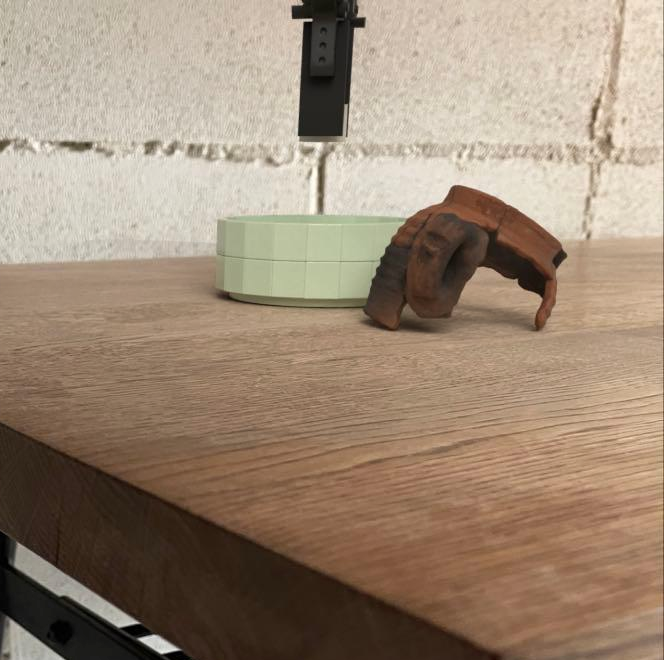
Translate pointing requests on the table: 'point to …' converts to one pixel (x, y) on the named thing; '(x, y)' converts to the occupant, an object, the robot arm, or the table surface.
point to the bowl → (301, 258)
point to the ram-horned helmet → (462, 257)
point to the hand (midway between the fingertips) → (323, 135)
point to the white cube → (328, 138)
